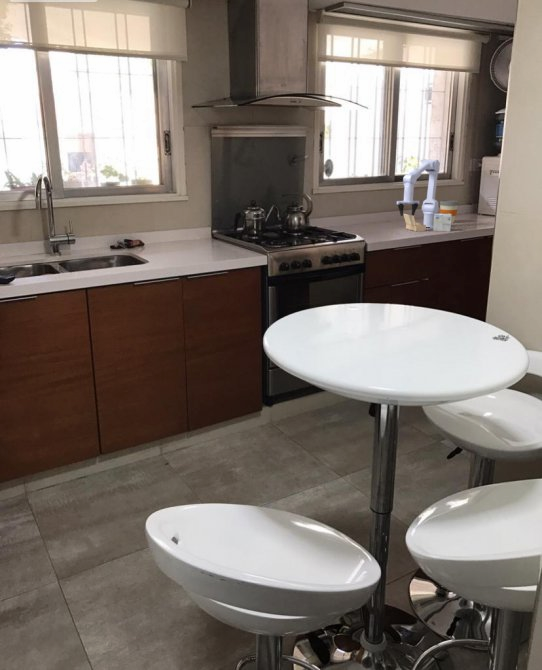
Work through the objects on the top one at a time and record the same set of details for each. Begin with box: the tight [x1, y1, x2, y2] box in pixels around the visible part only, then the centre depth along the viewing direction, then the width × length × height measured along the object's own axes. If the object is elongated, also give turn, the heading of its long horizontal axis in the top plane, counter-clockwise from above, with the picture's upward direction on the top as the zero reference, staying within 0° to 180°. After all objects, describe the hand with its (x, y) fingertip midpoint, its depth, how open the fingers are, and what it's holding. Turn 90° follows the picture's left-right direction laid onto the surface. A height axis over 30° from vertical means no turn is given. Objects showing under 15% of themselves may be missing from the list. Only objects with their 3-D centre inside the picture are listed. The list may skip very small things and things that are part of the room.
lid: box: [403, 213, 417, 226], centre depth 384 cm, size 13×6×1 cm
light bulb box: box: [432, 213, 452, 232], centre depth 384 cm, size 11×7×11 cm, turn 84°
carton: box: [405, 222, 427, 232], centre depth 387 cm, size 13×7×4 cm, turn 17°
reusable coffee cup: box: [439, 199, 459, 223], centre depth 422 cm, size 13×13×15 cm
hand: (407, 215), depth 380 cm, fingers open, 7 cm apart
